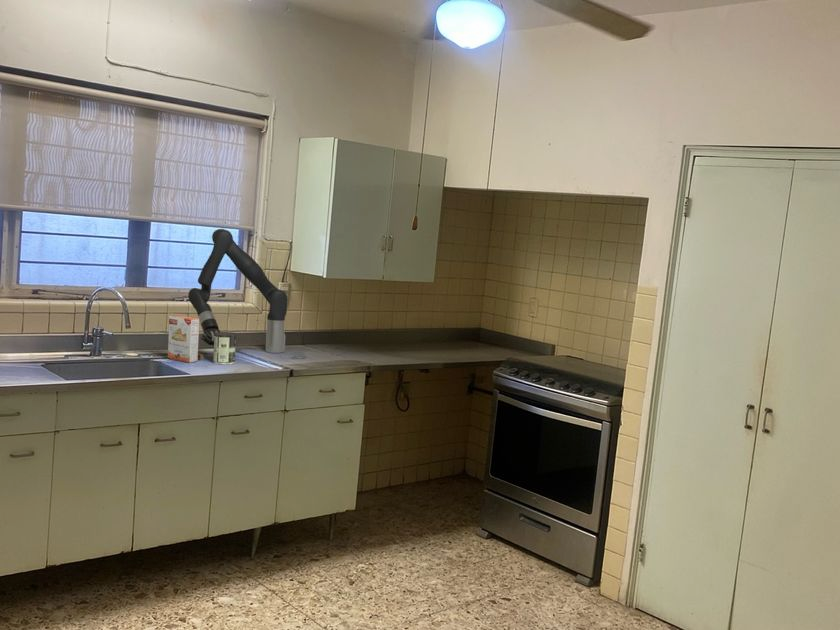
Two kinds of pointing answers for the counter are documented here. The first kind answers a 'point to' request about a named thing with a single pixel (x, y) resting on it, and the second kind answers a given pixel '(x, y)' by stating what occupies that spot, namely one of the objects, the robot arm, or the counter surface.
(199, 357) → the chute
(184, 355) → the cracker box
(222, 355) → the coffee can
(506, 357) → the counter surface
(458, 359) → the counter surface
